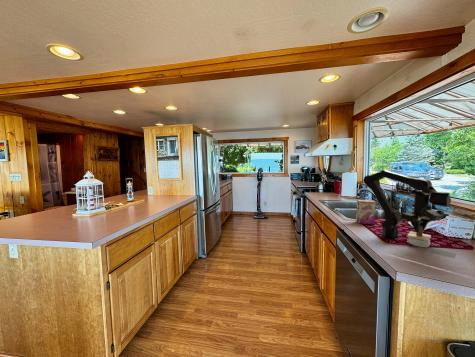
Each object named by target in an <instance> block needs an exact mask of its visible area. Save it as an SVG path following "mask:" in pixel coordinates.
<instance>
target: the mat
mask: <svg viewBox="0 0 475 357" xmlns="http://www.w3.org/2000/svg"><path fill="white" fill-rule="evenodd" d="M430 253H431V254H435V255H440V256H444V257H447V258H452V259H456V254H457V253H456V252H454V251H449V250H445V249H441V248H436V247H432V249H431V250H430Z"/></svg>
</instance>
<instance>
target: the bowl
mask: <svg viewBox="0 0 475 357" xmlns="http://www.w3.org/2000/svg"><path fill="white" fill-rule="evenodd" d="M407 238H408V240H407V242H408V243H409V244H410V245H412V246H416V247H420V248H429V247H430V245H431V239H430V240H429V241H426V240H421V239H417V238H412V237H407Z"/></svg>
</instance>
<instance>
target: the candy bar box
mask: <svg viewBox="0 0 475 357" xmlns="http://www.w3.org/2000/svg"><path fill="white" fill-rule="evenodd" d="M376 210H377V201H376V200H367V199H366V200H365V199H357V200H356V213H355V215H356V216H355V222H356V223H357V224H363V225H364V224H365V225H373V224H375V225H376Z"/></svg>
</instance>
